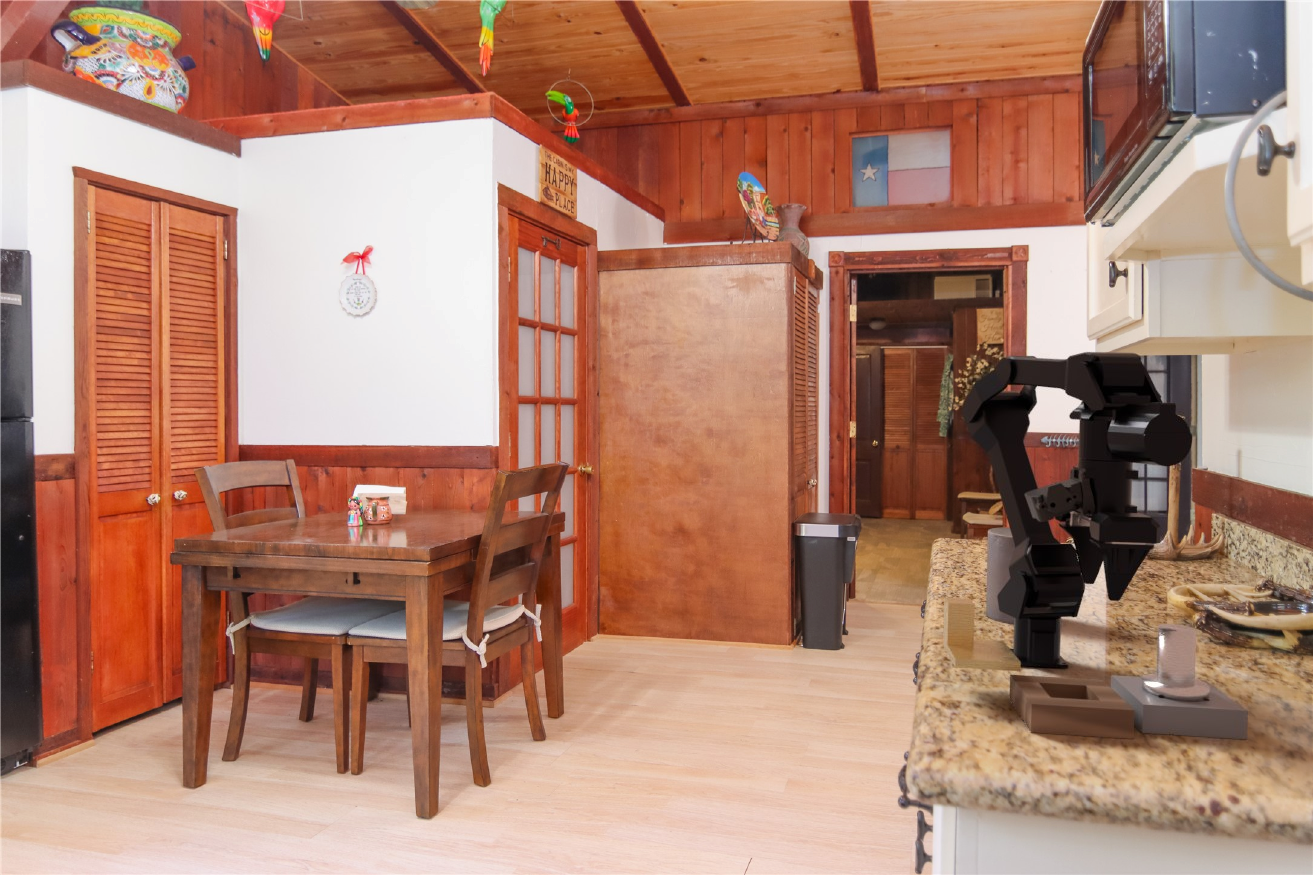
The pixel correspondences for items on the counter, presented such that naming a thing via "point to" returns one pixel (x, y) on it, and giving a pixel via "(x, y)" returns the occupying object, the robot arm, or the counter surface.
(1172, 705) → the grey square collar
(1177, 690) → the steel pin
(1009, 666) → the brass key
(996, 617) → the pillar candle
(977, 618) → the counter surface
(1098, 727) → the walnut socket block
